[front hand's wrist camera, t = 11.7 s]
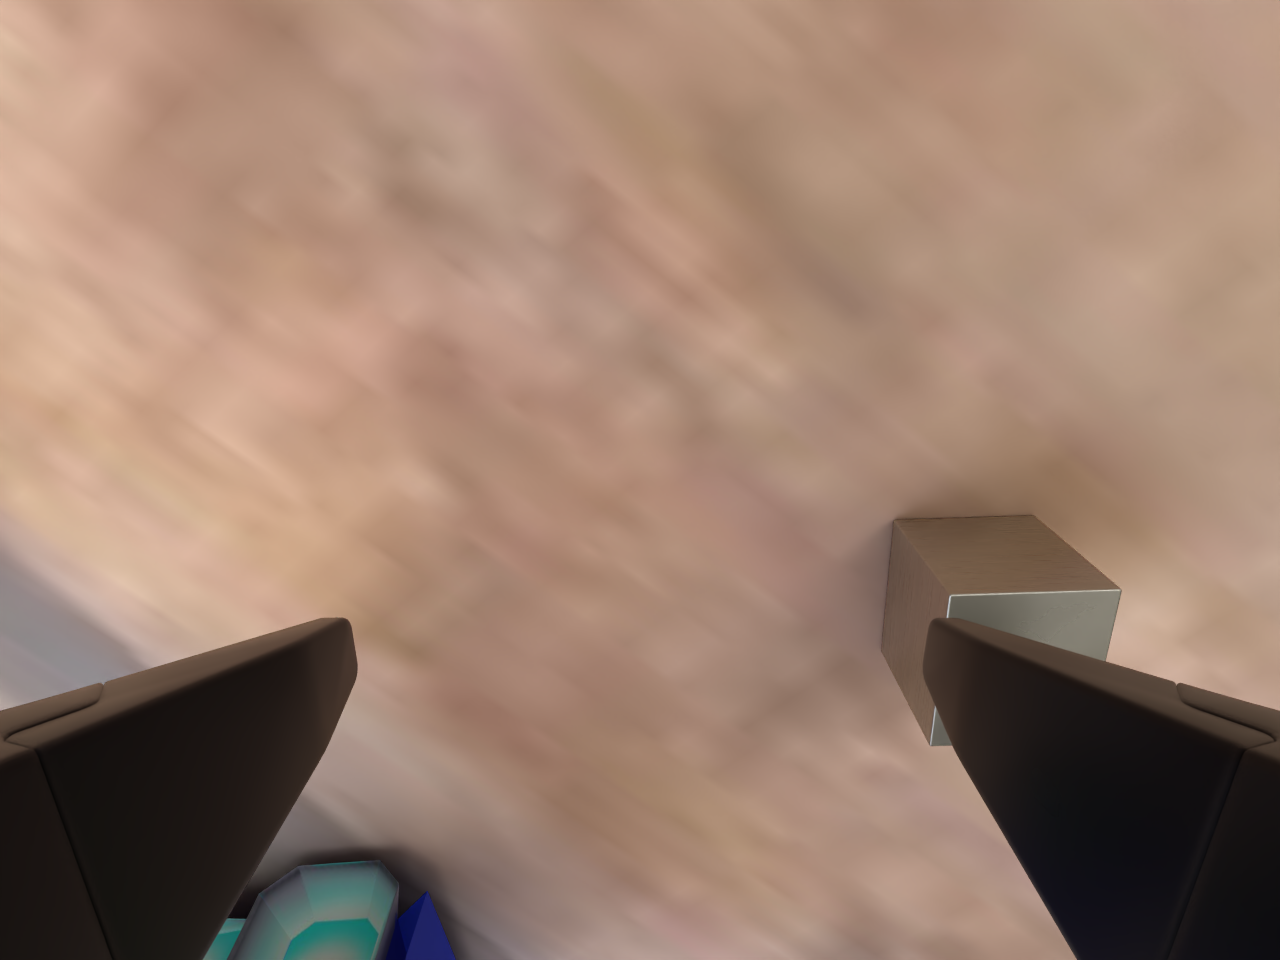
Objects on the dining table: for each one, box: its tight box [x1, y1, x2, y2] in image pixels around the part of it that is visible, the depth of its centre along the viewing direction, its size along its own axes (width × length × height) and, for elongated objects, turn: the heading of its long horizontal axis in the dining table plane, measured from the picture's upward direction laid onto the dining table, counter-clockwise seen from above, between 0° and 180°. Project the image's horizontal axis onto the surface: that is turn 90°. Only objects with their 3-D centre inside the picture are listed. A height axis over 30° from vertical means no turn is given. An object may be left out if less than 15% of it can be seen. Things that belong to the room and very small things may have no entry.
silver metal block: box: [881, 516, 1121, 746], centre depth 23 cm, size 5×4×5 cm
